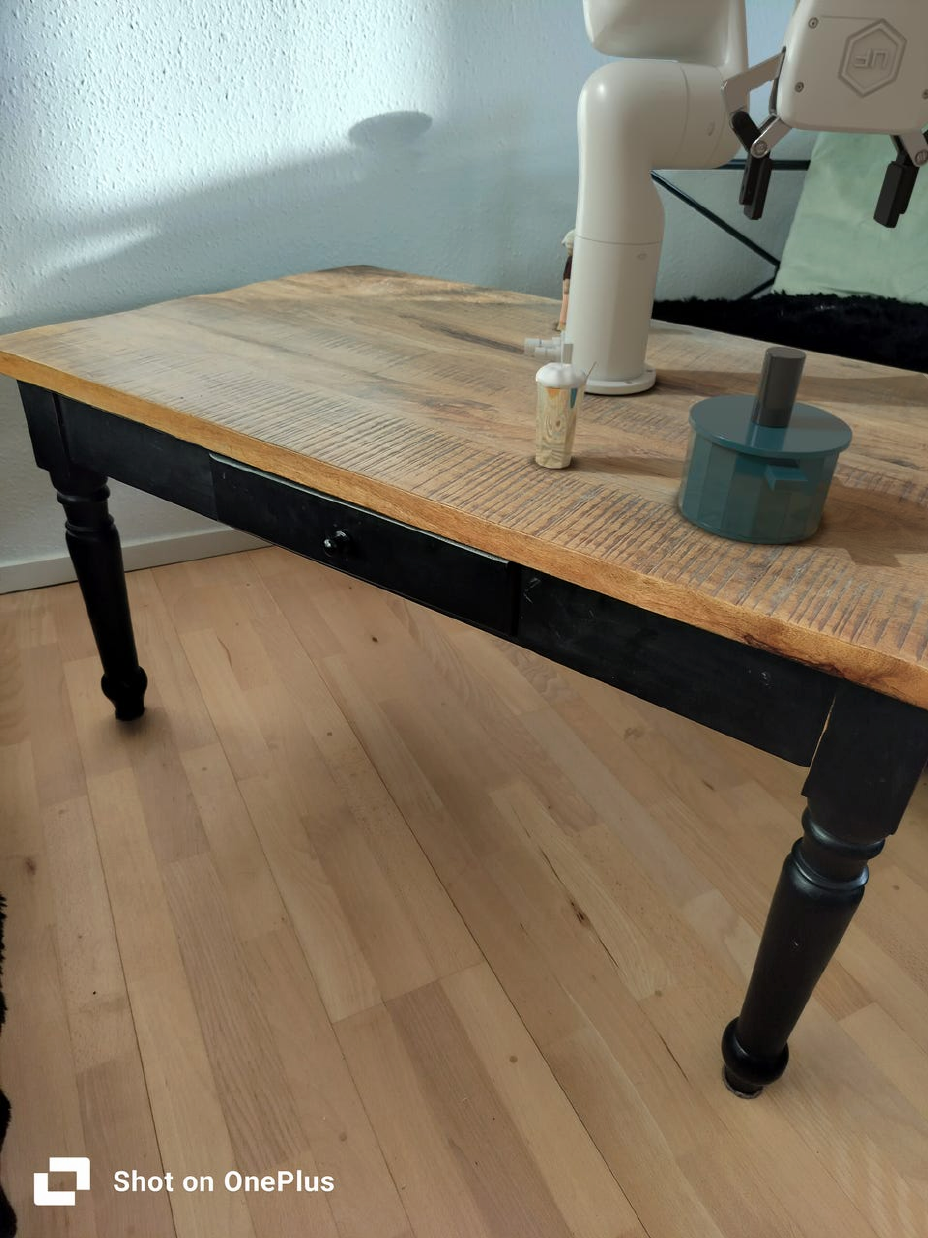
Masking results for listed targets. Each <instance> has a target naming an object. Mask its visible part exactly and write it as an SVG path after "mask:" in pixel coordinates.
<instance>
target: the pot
mask: <svg viewBox="0 0 928 1238" xmlns="http://www.w3.org/2000/svg"><path fill="white" fill-rule="evenodd" d="M840 454H841V453H839V454H836V455H833V456H829V457H824V458H817V459H781V458H771V457H764V456H758V455H753V454H749V453H744V452H740V451H737V450H733V449H730V448H727V447H724V446H721V445H719V444H716V443H714V442H712V441H710V440H708V439H706V438H704V437H703V436H701V435H700V434H698V433H697V432H696V431H695V430H694V429H693V428H692V427H691V426H690V432H689V437H688V442H687V448H686V453H685V456H684V457H685V458H684V464H683V469H682V472H681V473H682V474H681V478H680V484H679V488H678V489H679V490H678V495H677V497H678V503H677V505H678V508H679V510H680V513H682V515H683V516H684V517H685V518H686V519H687V520H688V521H690V522H691V523H693V524H694V525H695V526H696V527H698V528H700V529H703V530H705V531H706V532H710V533H711V534H714V535H717V536H720V537H723V538H726V539H729V540H733V541H738V542H744V543H748V544H749V543H750V544H758V545H759V544H760V545H785V544H791V543H797V542H800V541H802V540H803V541H804V540H805V539H807V538H809V537H811V536H812V535H814V534H815V533H816V532H817V529H818V528H819V526H820V523H821V522H820V521H821V518H822V515H823V511H824V508H825V505H826V501H827V498H828V495H829V491H830V488H831V484H832V481H833V478H834V475H835V471H836V467H837V465H838V460H839V457H840Z"/></svg>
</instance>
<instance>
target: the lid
mask: <svg viewBox="0 0 928 1238" xmlns="http://www.w3.org/2000/svg"><path fill="white" fill-rule="evenodd" d="M806 359H807V353H805V351H803V350H800V349H797V348H793V347H786V346H772V347H768V348H767V349H766V350H765V352H764V357H763V361H762V365H761V371H760V375H759V378H758V383H757V387H756V392H755V394H729V395H728V394H726V395H718V396H712V397H707V398H705V399H702V400H699V401H697V402H696V403H694V404H693V405H692V406H691V408H690V409H689V413H688V423H689V426H690V428H691V427H692V428H693V429H694V430H695V431H696V432H697V433H698V434H700V435H701V436H703V437H704V438H706V439H708V440H710V441H712V442H714V443H716V444H719V445H721V446H724V447H727V448H730V449H733V450H737V451H740V452H744V453H749V454H753V455H758V456H764V457H771V458H781V459H817V458H824V457H829V456H833V455H836V454H839V453H840V454H841V453H843V452H844V451H846V450H847V449H848V448H849V447H850V445H851V444H852V440H853V436H854V435H853V430H852V428H851V427H850V425H849V424H848V423H846V422H845V421H844V420H843V419H841V418H840V417H838V416H837V415H835V414H833V413H831V412H829V411H827V410H824V409H822V408H820V407H817V406H813V405H810V404H807V403H804V402H801V401H797V400H796V398H797V395H798V391H799V387H800V383H801V379H802V375H803V372H804V368H805V363H806ZM840 454H839V455H840Z"/></svg>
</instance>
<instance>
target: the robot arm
mask: <svg viewBox="0 0 928 1238" xmlns="http://www.w3.org/2000/svg"><path fill="white" fill-rule="evenodd" d="M793 3H794V4H793V7H792V10H791V14H790V17H789V19H788V23H787V26H786V30H785V32H784V33H785V34H784V38H783V39H782V43H781V48H780V51H779V53H777V54H775V55H773V56H771V57H769V58H767V59H764V60H763V61H761V62H759V63H757V64H755V65H752V66H751V67H750V66H749V47H748V28H747V7H746V0H582V9H583V10H582V11H583V19H584V27H585V32H586V35H587V38H588V41H589V43H590V45H591V46H592V47H593V49H594V50H596V51H597V52H599V53H600V54H601V55H602V54H603V55H605V56H608V57H615V58H623V60H616V61H613V62H612V61H611V62H609V63H607V64H604V65H602V66H600V67H598V68H597V69H595V71H593V72H592V73H591V74H590V75H589V76H588V78H587V79H586V80H585V82H584V84H583V85H582V88H581V90H580V93H579V97H578V102H577V110H576V129H577V130H576V131H577V148H578V189H577V191H578V192H577V203H576V204H577V205H576V207H577V208H576V215H575V216H576V218H575V228H574V229H575V239H574V249H573V259H572V269H571V279H570V289H569V298H568V308H567V318H566V328H565V330H561V331H560V336H552V337H551V339H541V338H535V337H525V338H524V339H525V340H524V351H523V355H524V356H534V360H538V361H539V360H541V361H542V360H543V361H546V360H551V361H550V362H549V363H563V364H573V365H574V366H576V367H578V368H580V369H581V370H582V371H583V372H584V373H585V374H586V376H587V375H588V373H589V371H590V370H591V368H592V366H593V364H594V363H595V362H596V364H595V366H594V368H593V369H592V371H591V373H590V375H589V377H588V378H587V382H586V387H585V392H584V393H589V394H599V395H629V394H636V393H640V392H643V391H646V390H648V389H650V388H652V387H653V386H654V385H655V382H656V378H657V372H656V370H655V369H654V367H652V366H651V365H649V364H648V363H646V362H645V361H646V353H647V347H648V340H649V333H650V328H651V327H650V326H651V321H652V314H653V307H654V301H655V294H656V287H657V281H658V274H659V268H660V264H661V263H660V261H661V256H662V249H663V242H664V236H665V229H666V213H665V206H664V202H663V201H662V198H661V195H660V193H659V191H658V189H657V186H656V185H655V183H654V180H653V177H652V171H662V170H671V171H672V170H675V171H677V170H678V171H679V170H681V171H685V170H687V171H693V170H694V171H696V170H698V171H699V170H712V169H717V168H720V167H724V166H725V165H727V164H728V163H730V162H731V161H732V160H733V159H734V158H735V157H736V155H737V154H738V153H739V151H740V150H741V148H742V147H743V149H744V151H745V152H746V153H747V157H746V160H745V164H744V165H745V166H744V171H743V175H742V180H741V186H740V191H739V196H738V205H740V206H743V215H744V216H746V218H748V219H749V220H750V221H759V219H760V220H761V219H762V217H763V213H764V208H765V204H766V199H767V196H768V191H769V185H770V181H771V178H772V177H771V176H772V172H773V168H774V160H773V158H770V157H771V152H772V149H773V148H774V147H776V145H778V143H779V142H780V141H781V140H782V139H783V138H785V136H786V135H787V134H789V133H790V131H792V130H793V129H796V130H800V131H810V132H827V133H841V134H842V133H843V134H862V135H879V136H880V135H881V136H889V138H890V140H891V142H892V145H893V147H894V149H895V151H896V153H897V155H896V158H895V160H891V161H890V163H888V164H887V167H886V171H885V173H884V178H883V181H882V185H881V188H880V192H879V195H878V198H877V201H876V205H875V210H874V213H873V217H872V218H873V221H875V222H876V223H877V224H879V225H881V226H883V227H884V228H885V229H896V227H897V225H898V222H899V219H900V216H901V215H905V213H906V212H907V211H908V208H909V204H910V202H911V198H912V194H913V191H914V189H915V185H916V182H917V178H918V174H919V171H920V168H921V167H924V166H926V165H927V164H928V129H927V130H925V131H924V132H923V131H922V129H923V128H925V127H926V126H927V124H928V0H794V2H793ZM625 59H626V60H625ZM769 83H771V86H770V91H769V97H768V98H769V99H768V107H767V108H768V109H767V110H768V114H769V115H768V116H767V117H766V118H765V119H764V120H763V121H762V122H761V123H760V124H759V125H758V126H757V125H756V123H755V121H754V120H753V118H752V117H751V115H750V113H751V112H750V111H751V92H753V91H754V90H756V89H758V88H760V87H762V86H765V85H766V84H769Z"/></svg>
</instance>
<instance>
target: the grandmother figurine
mask: <svg viewBox="0 0 928 1238" xmlns="http://www.w3.org/2000/svg"><path fill="white" fill-rule="evenodd" d="M574 239H575V228H574V229H571V230H570V231H569V232H568V233H566V234H565V237H564V238H563V239H562V241H561V245H562V246H563V247H565V248H566V252H567V254H568V257H567V259H566V262H565V267H564V270H563V273H562V304H561V310H560V314H559V322H558V323H557V327H556V330H557V331H560V332H561V330H565V328H566V318H567V308H568V298H569V289H570V279H571V269H572V259H573V249H574Z"/></svg>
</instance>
